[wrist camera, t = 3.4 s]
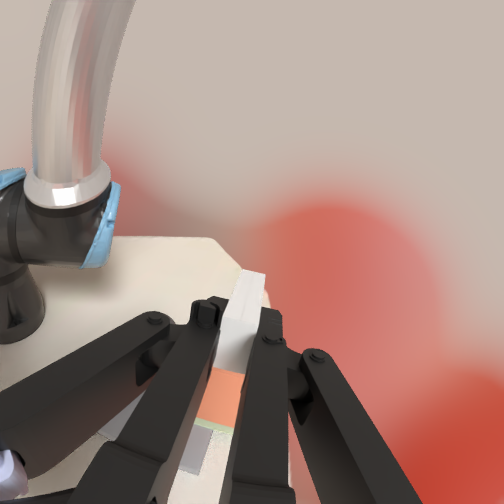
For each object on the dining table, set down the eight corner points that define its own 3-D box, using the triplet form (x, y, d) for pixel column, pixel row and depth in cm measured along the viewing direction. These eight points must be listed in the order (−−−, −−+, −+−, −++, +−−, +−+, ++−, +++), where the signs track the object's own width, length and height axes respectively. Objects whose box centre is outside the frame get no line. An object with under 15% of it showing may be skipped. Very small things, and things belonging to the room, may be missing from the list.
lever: (137, 405, 24) (131, 320, 20) (149, 385, 28) (150, 300, 24) (243, 440, 24) (276, 366, 20) (248, 416, 27) (279, 339, 23)
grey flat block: (81, 423, 21) (77, 415, 20) (132, 355, 34) (132, 346, 33) (227, 482, 19) (229, 478, 19) (248, 394, 33) (250, 386, 32)
